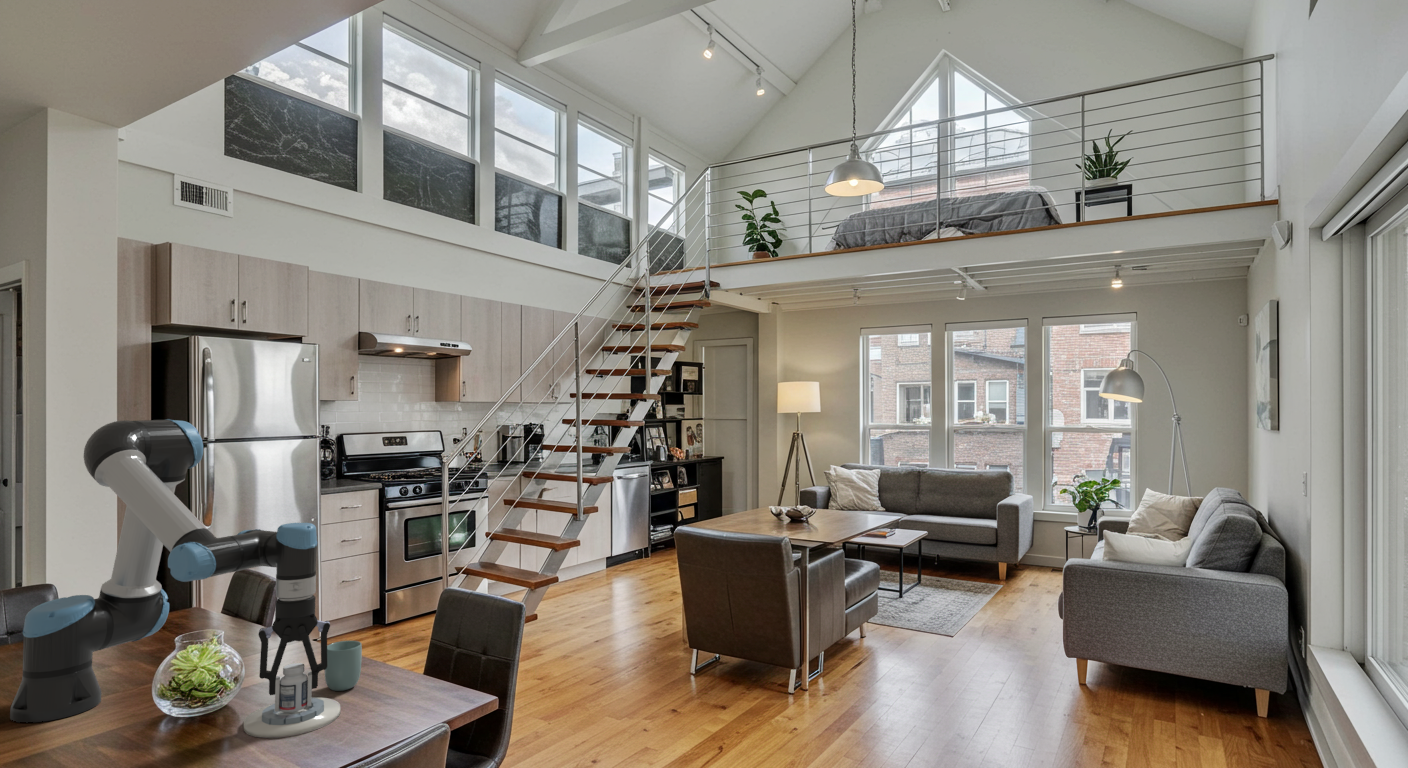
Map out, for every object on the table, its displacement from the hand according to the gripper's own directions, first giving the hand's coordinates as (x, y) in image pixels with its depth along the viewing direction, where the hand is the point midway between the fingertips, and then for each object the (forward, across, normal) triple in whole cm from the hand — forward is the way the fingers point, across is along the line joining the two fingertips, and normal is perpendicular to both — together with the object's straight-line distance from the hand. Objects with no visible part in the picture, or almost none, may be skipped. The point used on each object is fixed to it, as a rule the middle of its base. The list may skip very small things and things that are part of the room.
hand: (293, 706), depth 159 cm
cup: (+3, +10, +15) cm, 18 cm away
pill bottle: (0, 0, 0) cm, 1 cm away
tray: (+3, 0, 0) cm, 3 cm away
